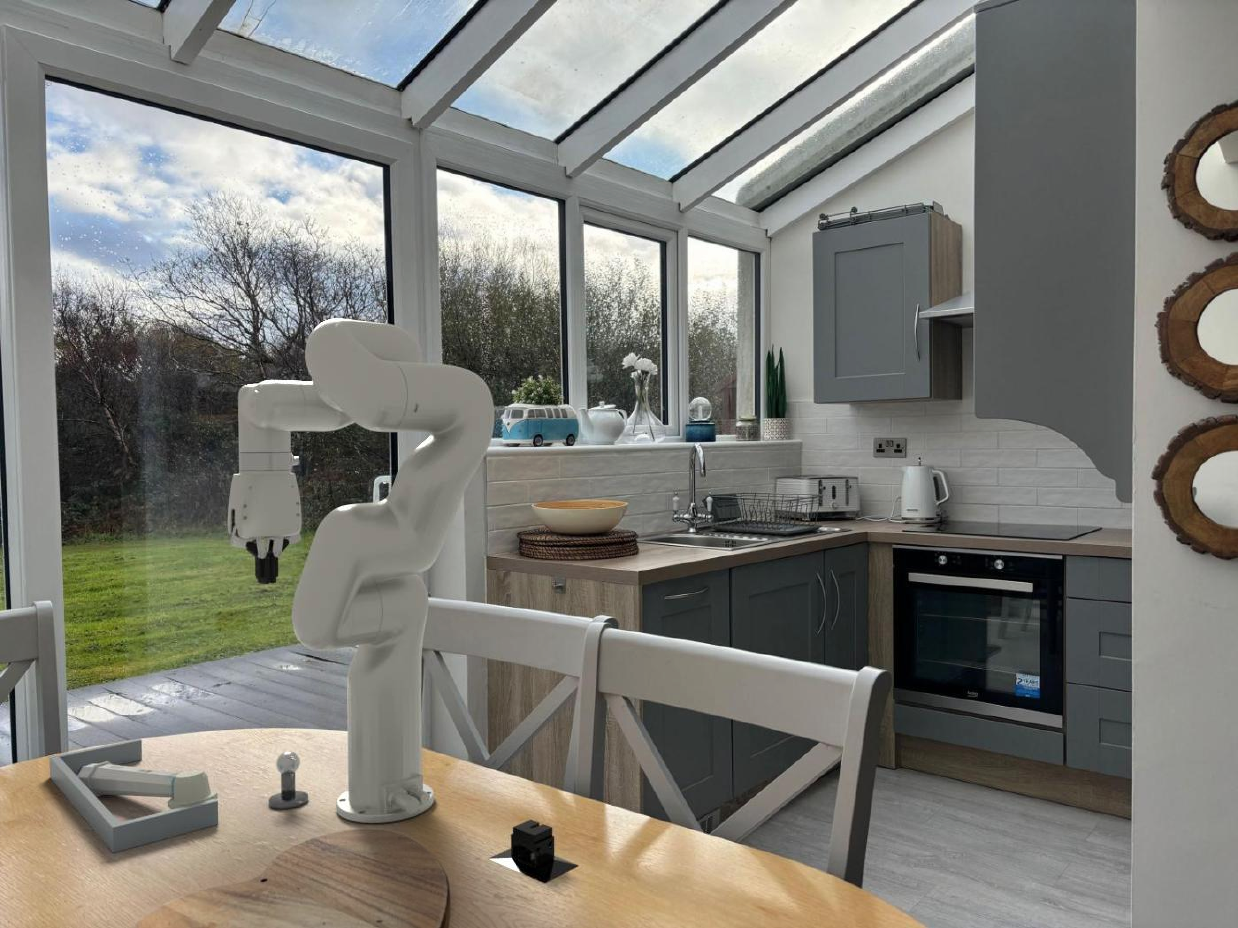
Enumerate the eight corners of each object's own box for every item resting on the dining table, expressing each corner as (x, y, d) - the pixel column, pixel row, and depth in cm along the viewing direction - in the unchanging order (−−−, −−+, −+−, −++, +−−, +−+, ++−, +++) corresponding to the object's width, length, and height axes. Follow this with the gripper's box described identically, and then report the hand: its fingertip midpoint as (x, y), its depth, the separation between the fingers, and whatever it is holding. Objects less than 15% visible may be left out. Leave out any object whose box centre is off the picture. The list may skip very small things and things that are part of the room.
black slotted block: (593, 872, 105) (593, 832, 104) (547, 896, 99) (547, 854, 99) (518, 841, 113) (518, 803, 113) (471, 862, 107) (471, 822, 107)
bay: (218, 824, 117) (217, 800, 117) (113, 852, 109) (112, 827, 109) (140, 757, 142) (139, 738, 142) (49, 777, 134) (49, 756, 134)
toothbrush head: (103, 756, 132) (222, 759, 120) (108, 804, 131) (228, 811, 120) (67, 768, 127) (187, 772, 115) (72, 817, 127) (193, 826, 115)
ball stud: (314, 802, 124) (313, 751, 124) (277, 812, 121) (276, 760, 120) (298, 792, 128) (298, 743, 127) (262, 801, 124) (262, 751, 124)
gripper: (300, 463, 151) (302, 575, 151) (206, 465, 140) (208, 585, 141) (322, 464, 145) (323, 580, 146) (225, 465, 135) (227, 591, 135)
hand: (266, 582), depth 143 cm, fingers closed
